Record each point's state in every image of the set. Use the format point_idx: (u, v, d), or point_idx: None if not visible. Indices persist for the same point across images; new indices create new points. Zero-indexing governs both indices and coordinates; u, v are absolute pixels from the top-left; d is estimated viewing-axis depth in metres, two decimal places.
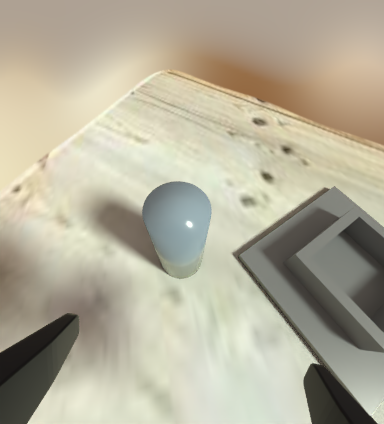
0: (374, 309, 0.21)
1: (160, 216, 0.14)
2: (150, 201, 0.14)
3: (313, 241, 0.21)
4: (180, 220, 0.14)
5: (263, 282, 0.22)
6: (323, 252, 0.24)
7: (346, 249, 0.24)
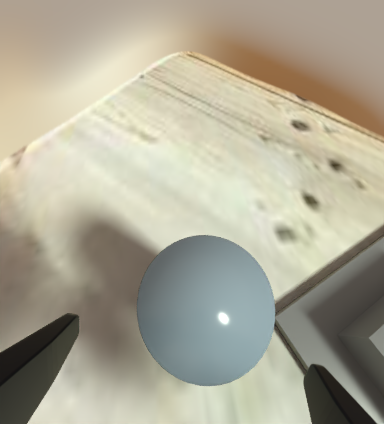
0: None
1: (173, 313, 0.07)
2: (155, 276, 0.07)
3: None
4: (213, 327, 0.07)
5: (309, 365, 0.15)
6: None
7: None
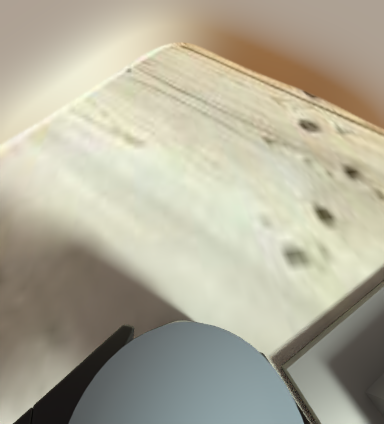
0: None
1: None
2: (92, 417, 0.04)
3: None
4: None
5: None
6: None
7: None
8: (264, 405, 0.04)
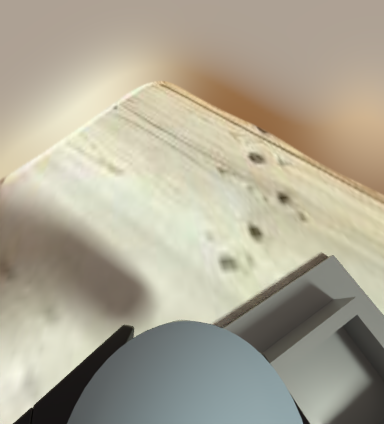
0: None
1: None
2: (91, 416, 0.04)
3: (295, 346, 0.17)
4: None
5: None
6: None
7: (336, 345, 0.20)
8: (263, 404, 0.04)
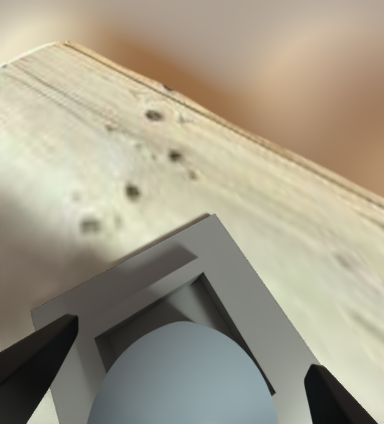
0: None
1: None
2: (112, 395, 0.05)
3: (111, 309, 0.13)
4: None
5: None
6: (158, 316, 0.16)
7: (194, 313, 0.16)
8: (243, 387, 0.05)
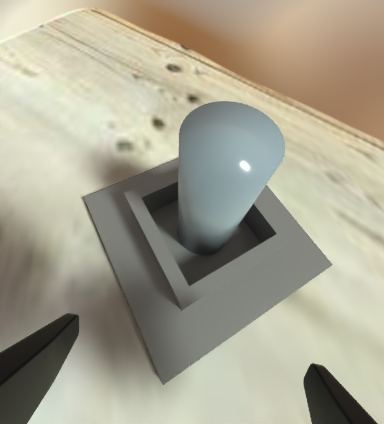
0: None
1: (207, 143, 0.09)
2: (191, 122, 0.09)
3: (153, 182, 0.17)
4: (237, 152, 0.09)
5: (98, 228, 0.19)
6: None
7: None
8: (263, 126, 0.10)
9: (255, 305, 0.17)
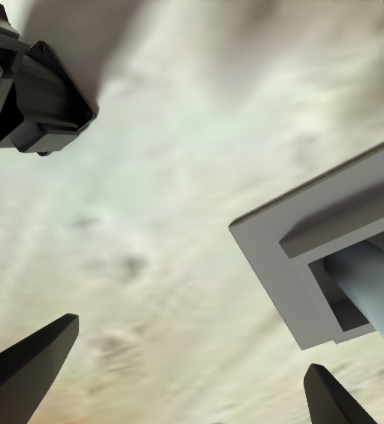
0: None
1: None
2: None
3: None
4: None
5: (372, 157, 0.17)
6: None
7: None
8: None
9: (277, 294, 0.21)
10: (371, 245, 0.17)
